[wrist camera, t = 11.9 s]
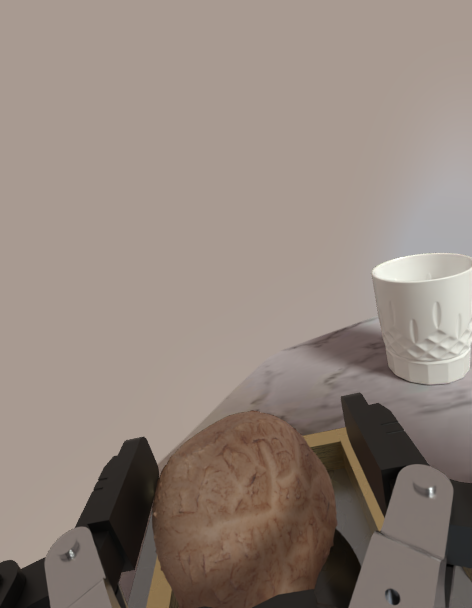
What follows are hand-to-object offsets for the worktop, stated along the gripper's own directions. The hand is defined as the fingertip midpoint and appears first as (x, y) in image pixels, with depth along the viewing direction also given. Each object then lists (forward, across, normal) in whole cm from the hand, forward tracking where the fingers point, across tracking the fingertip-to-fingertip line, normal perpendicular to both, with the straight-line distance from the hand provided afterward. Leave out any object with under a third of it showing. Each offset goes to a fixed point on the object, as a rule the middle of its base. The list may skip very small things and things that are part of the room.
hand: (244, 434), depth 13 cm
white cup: (+17, -16, +11) cm, 26 cm away
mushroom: (-1, 0, +8) cm, 8 cm away
